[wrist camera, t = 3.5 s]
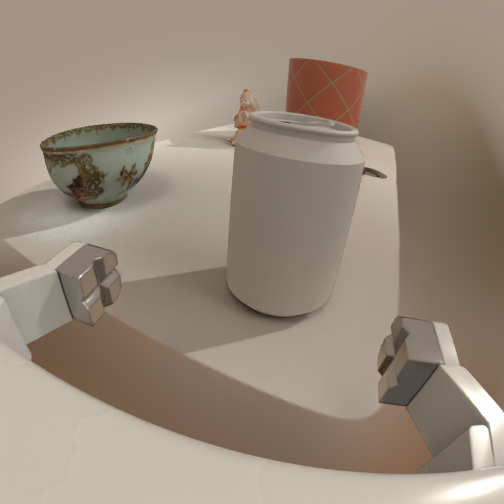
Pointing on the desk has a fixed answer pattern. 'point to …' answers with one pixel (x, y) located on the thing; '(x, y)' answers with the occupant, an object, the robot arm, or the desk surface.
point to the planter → (325, 90)
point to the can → (290, 210)
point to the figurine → (244, 112)
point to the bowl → (99, 161)
